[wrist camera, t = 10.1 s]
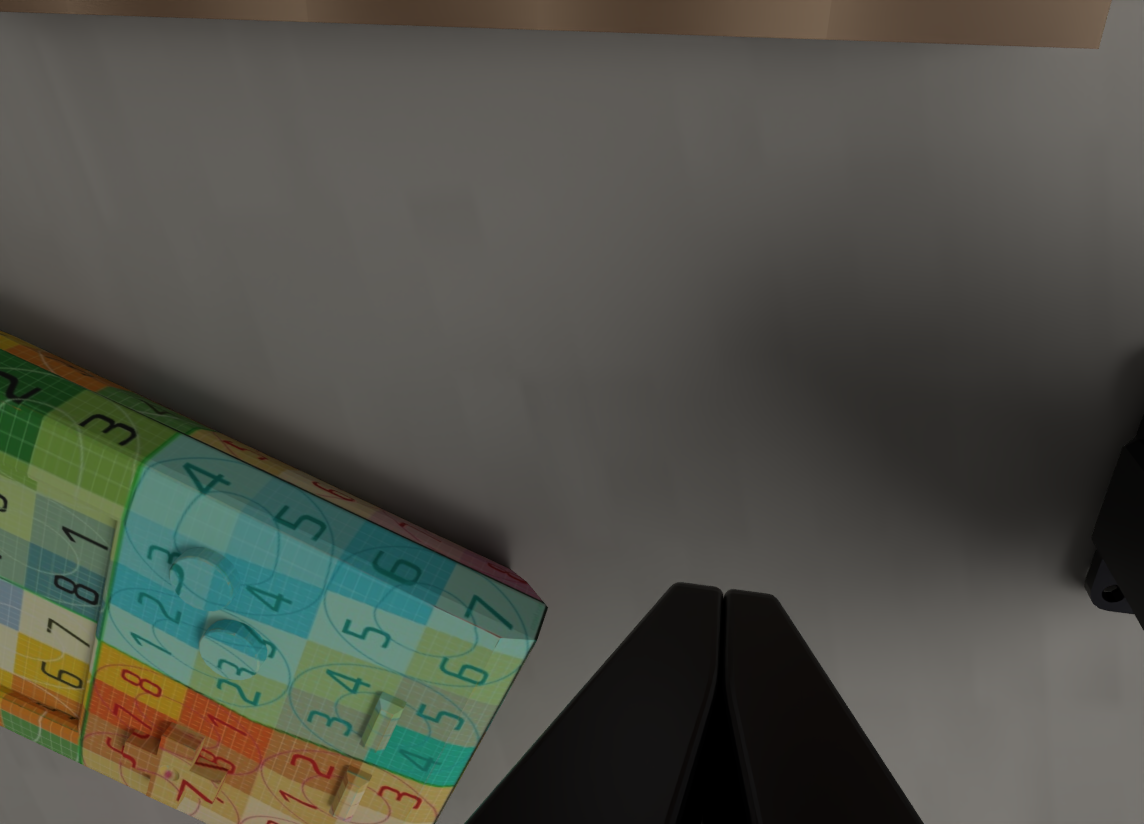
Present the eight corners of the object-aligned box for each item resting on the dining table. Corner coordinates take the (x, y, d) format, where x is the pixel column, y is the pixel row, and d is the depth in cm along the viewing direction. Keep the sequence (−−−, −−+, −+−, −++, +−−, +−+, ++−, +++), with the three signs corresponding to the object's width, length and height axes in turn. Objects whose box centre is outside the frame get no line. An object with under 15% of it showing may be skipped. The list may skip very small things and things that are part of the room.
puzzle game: (380, 931, 25) (-259, 638, 25) (433, 796, 30) (-114, 543, 29) (527, 668, 20) (-294, 284, 19) (567, 548, 24) (-109, 228, 24)
